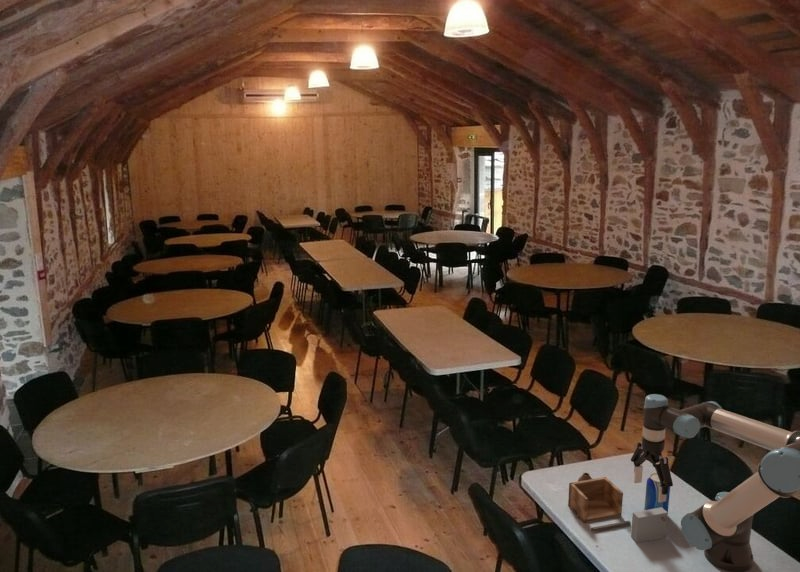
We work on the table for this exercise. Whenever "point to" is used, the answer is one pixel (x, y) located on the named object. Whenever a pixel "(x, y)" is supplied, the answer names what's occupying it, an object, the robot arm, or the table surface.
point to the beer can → (655, 494)
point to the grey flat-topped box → (649, 524)
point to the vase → (584, 477)
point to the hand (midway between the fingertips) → (649, 491)
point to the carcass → (596, 501)
